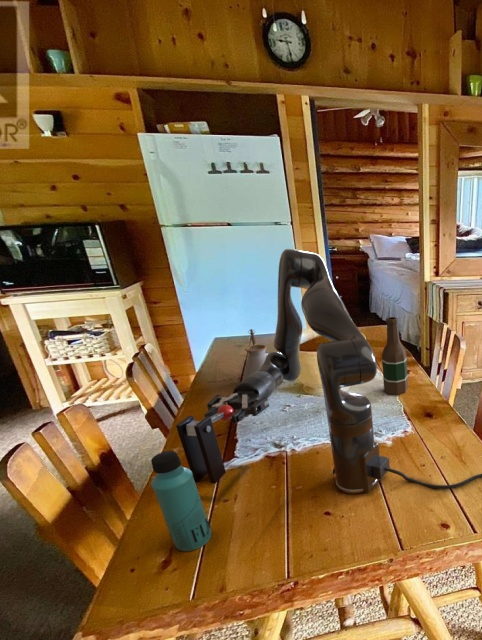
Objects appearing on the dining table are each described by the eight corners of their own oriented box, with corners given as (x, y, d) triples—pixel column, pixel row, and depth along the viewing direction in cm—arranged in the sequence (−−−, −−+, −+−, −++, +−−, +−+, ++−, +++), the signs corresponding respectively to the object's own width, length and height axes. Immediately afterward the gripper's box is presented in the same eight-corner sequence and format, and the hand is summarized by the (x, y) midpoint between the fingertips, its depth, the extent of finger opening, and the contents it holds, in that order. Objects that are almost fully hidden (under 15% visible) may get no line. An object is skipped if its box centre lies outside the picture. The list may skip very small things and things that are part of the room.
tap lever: (223, 416, 107) (222, 402, 106) (238, 417, 106) (236, 403, 105) (184, 438, 93) (181, 422, 92) (200, 439, 93) (198, 423, 92)
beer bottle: (412, 388, 144) (410, 317, 134) (398, 397, 139) (394, 323, 128) (394, 383, 148) (390, 313, 137) (379, 391, 142) (373, 319, 131)
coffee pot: (283, 387, 146) (275, 344, 139) (245, 393, 142) (235, 349, 135) (275, 365, 163) (268, 326, 156) (242, 370, 159) (233, 330, 152)
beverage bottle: (199, 560, 79) (166, 469, 70) (167, 555, 80) (131, 464, 71) (222, 535, 85) (195, 447, 76) (192, 530, 86) (162, 443, 77)
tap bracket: (206, 465, 106) (189, 407, 99) (245, 467, 105) (231, 409, 98) (174, 496, 95) (151, 434, 88) (217, 500, 94) (198, 436, 87)
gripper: (227, 375, 116) (187, 403, 101) (279, 377, 115) (246, 406, 100) (233, 400, 120) (195, 431, 105) (284, 403, 118) (253, 434, 103)
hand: (220, 419), depth 102 cm, fingers open, 6 cm apart
